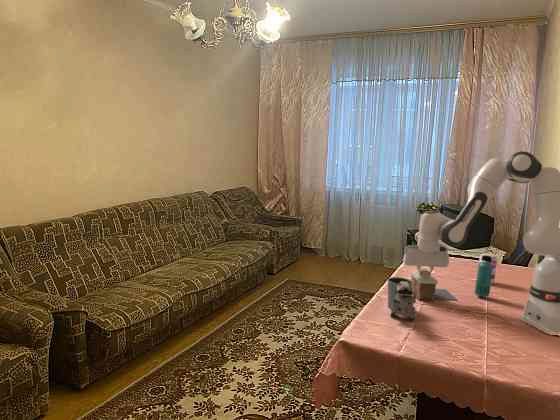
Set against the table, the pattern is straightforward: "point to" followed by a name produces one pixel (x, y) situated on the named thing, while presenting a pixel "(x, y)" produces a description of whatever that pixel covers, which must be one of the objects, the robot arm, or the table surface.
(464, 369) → the table surface
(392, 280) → the gray embossed pot
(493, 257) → the supplement can
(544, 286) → the robot arm
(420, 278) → the lid
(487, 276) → the beverage bottle
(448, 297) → the mat
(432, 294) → the box
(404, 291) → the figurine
